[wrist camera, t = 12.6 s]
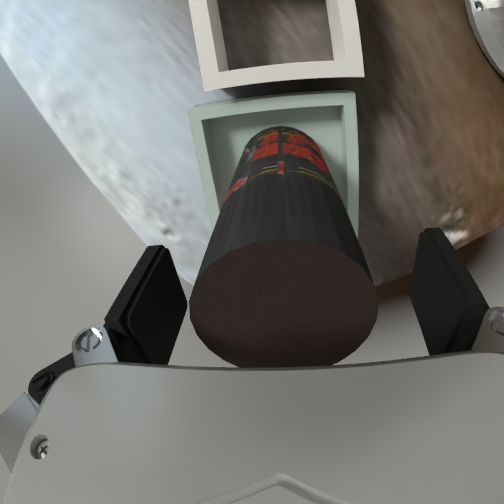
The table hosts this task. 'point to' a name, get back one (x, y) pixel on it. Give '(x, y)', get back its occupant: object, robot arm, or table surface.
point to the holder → (219, 76)
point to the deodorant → (283, 263)
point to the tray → (271, 115)
